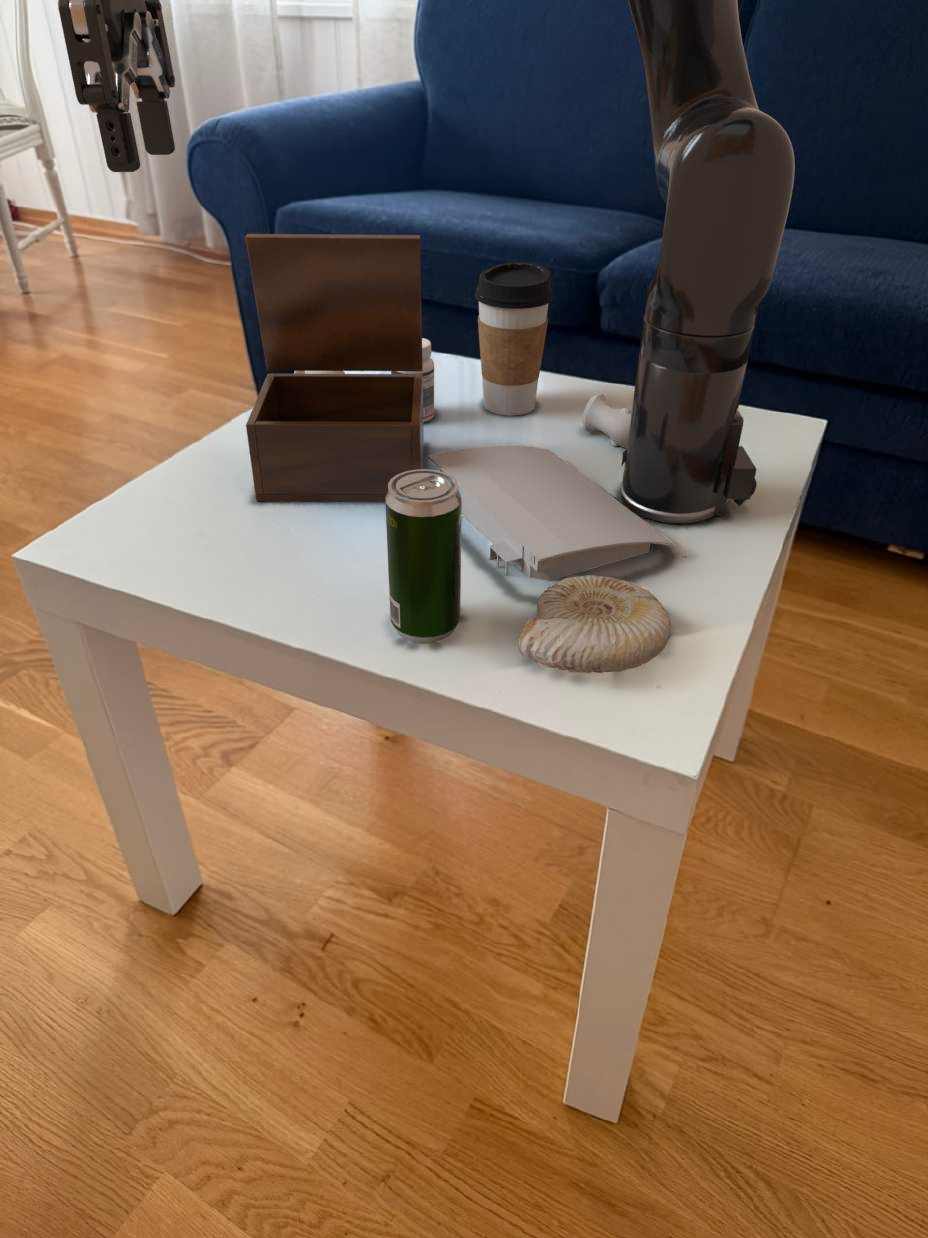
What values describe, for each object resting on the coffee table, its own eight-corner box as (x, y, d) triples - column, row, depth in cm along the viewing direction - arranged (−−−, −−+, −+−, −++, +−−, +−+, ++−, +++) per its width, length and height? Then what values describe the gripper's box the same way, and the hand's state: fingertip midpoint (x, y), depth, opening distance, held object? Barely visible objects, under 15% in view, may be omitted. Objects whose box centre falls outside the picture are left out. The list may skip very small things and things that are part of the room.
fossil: (657, 680, 61) (525, 611, 62) (627, 727, 64) (502, 661, 65) (692, 586, 70) (576, 528, 71) (664, 631, 73) (553, 575, 74)
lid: (419, 238, 81) (420, 234, 82) (245, 237, 81) (246, 233, 82) (422, 371, 91) (422, 367, 92) (266, 370, 91) (267, 366, 91)
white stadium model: (527, 613, 72) (529, 572, 70) (407, 490, 89) (406, 453, 86) (680, 567, 78) (687, 527, 76) (541, 459, 94) (543, 424, 92)
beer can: (413, 654, 67) (409, 511, 60) (377, 618, 71) (370, 479, 64) (473, 630, 69) (476, 490, 62) (436, 597, 73) (435, 461, 66)
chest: (421, 502, 86) (420, 425, 81) (256, 501, 86) (245, 424, 81) (423, 445, 96) (422, 373, 92) (276, 444, 96) (267, 373, 91)
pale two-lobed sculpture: (650, 458, 97) (616, 455, 94) (604, 430, 102) (570, 426, 99) (666, 420, 95) (632, 415, 92) (617, 393, 100) (584, 388, 97)
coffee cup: (558, 401, 106) (568, 268, 97) (523, 426, 100) (530, 287, 92) (496, 386, 110) (500, 257, 101) (459, 409, 104) (460, 274, 95)
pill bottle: (388, 409, 104) (385, 337, 99) (428, 405, 105) (427, 333, 100) (398, 426, 100) (395, 351, 95) (439, 421, 101) (439, 347, 96)
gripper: (109, -121, 54) (164, 177, 63) (178, -102, 66) (216, 148, 75) (-14, -118, 54) (58, 178, 64) (77, -100, 66) (127, 149, 75)
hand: (144, 162), depth 69 cm, fingers open, 8 cm apart
